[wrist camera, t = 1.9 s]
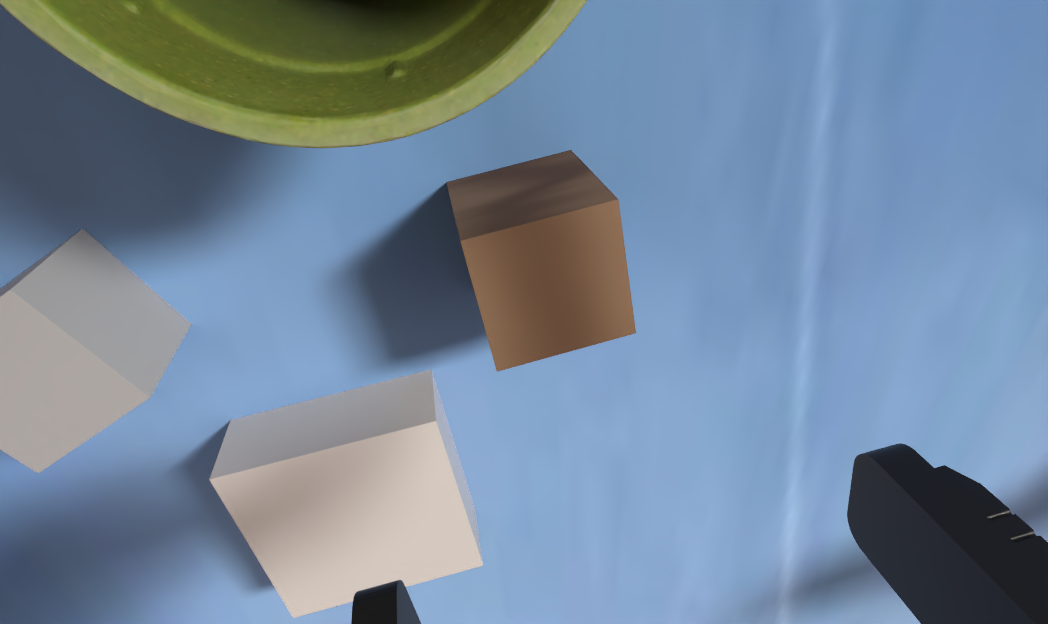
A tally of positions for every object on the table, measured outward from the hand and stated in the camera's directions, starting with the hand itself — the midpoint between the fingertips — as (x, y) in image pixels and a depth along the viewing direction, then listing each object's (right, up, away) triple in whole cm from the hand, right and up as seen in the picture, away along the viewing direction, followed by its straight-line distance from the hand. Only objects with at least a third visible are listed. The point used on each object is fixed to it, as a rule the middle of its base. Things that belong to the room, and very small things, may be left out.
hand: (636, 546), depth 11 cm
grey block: (-19, +4, +13) cm, 23 cm away
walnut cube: (-2, +8, +15) cm, 17 cm away
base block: (-10, -3, +19) cm, 22 cm away
